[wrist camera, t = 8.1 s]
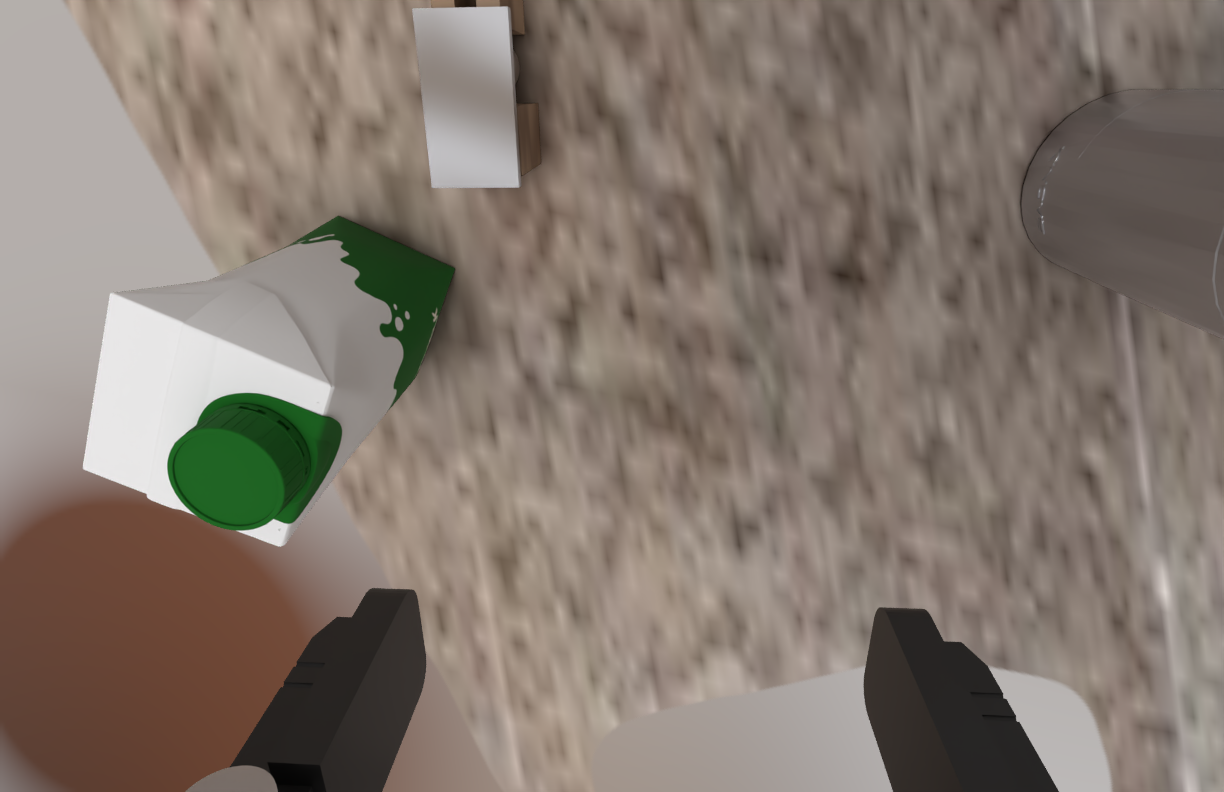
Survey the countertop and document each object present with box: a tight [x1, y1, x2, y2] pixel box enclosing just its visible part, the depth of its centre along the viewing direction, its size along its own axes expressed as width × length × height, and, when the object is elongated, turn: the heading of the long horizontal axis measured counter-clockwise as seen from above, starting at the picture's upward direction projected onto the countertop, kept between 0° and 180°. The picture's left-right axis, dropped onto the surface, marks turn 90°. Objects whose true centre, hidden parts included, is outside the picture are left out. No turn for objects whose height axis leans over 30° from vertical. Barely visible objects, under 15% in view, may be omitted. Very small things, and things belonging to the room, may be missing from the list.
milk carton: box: [83, 216, 455, 547], centre depth 32 cm, size 9×9×20 cm
